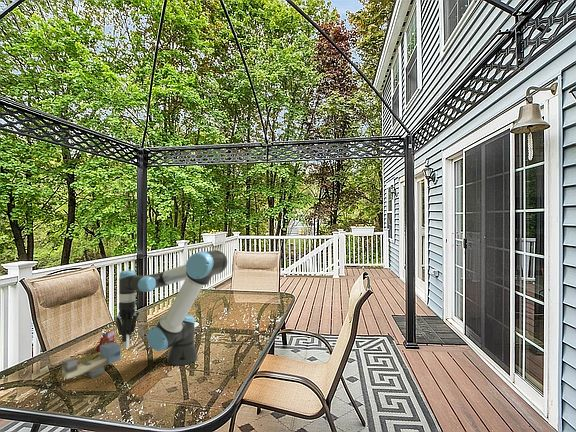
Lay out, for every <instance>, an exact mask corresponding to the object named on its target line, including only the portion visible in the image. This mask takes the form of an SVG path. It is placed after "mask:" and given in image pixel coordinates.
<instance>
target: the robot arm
mask: <svg viewBox="0 0 576 432" xmlns="http://www.w3.org/2000/svg"><path fill="white" fill-rule="evenodd" d="M227 267H228V257H227V256H226V254H225V253H224V252H222V251H220V250H216V249H215V250H208V251H197V252H194V253H193V254H191V255H190V256H189V257H188V259H187V260H186V263H185V264H183V265H179V266H177V267H173V268H171V269H168V270H167V269H166V270H165V271H164V270H163V271H161V272H157V273H152V274H147V275H136V271H135V270H122V271H120V272H119V275H118V276H119V278H118V283H119V284H118V286H119V287H118V301H119V302H118V310H119V311H118V315H117V316H114V317H113V320H114V321H115V324H116V325H115V326H116V329H117V332H118V335H119V336H122V337H121V341H122V342H123V343H122V344H123V345H122V347H123V348H124V349H129V348H130V341H131V336H132V334H133V333H134V332H135V330H136V325H137V322H138V317H139V315H140V313H139V312H137V311H136V310H135V308H136V301H135V300H136V291H137V292H143V293H146V292H152V291H153V290H155V289H157V288H162V287H167V286H169V285H172V284H175V283H179V282H182V281H184V282H183V284H182V285H181V287H180V289H179V290H178V292H177V294H176V296H175V298H174V300H173V302H172V304H171V305H170V307H169V309H168V310H167V312H166V314H165V315H163V316H161V317H160V318H159V321H158V322H157V324H156V325H155V326H152V327H151V328H150V329H148V331H147V335H146V338H147V339H146V340H147V343H148V345H149V347H150V348H151V349H152V350H154V351H156V352H162V351H165V350H167V349H169V351H168V354H167V356H166V358H167V359H166V361H167V363H168V365H172V366H185V365H190V364H193V363H195V362H196V361H197V360H198V352H197V349H196V345H195V317H194V316H193V315H191V314H188V313H189V312H190V309H191V308H192V306H193V305H194V303H195V301H196V299H197V297H198V295H199V294H200V293H201V291H202V289H203V286H207V285H208V284H209V283H210V281H211V279H212V278H213V276H216V275H218V274H221V273H222V272H224V271H225V270H226V268H227ZM192 362H193V363H192Z"/></svg>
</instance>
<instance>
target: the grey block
mask: <svg viewBox="0 0 576 432" xmlns="http://www.w3.org/2000/svg"><path fill="white" fill-rule="evenodd" d="M120 353H121V344H119V343H117V344H116V343H113V342H110V343H107V344H104V345H101V346H100V358H101V357H104V358H107V364H108V365H111V364H113V362H114V363H116V361H117V362H119V361H121V360H120ZM110 363H111V364H110Z"/></svg>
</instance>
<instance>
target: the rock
mask: <svg viewBox="0 0 576 432" xmlns="http://www.w3.org/2000/svg"><path fill="white" fill-rule="evenodd" d="M98 358H100V352H95V353H92V354H90V355H85V356H82V357H80V358H78V359H76V360H77V365H80V364H82V363H85V362H89V361H92V360H95V359H98Z"/></svg>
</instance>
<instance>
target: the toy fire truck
mask: <svg viewBox="0 0 576 432" xmlns="http://www.w3.org/2000/svg"><path fill="white" fill-rule="evenodd" d="M115 334H116V330H115V329H111V330H109V331H107V332H105V333H103V334H102V337H101V338H100V340H99V343H98V345H97V346H96V347H95V351H96V352H95V353H98V352H100V346H101V345H104V344H107V343H110V342H113V343H116V344H118V342H117V341H115Z"/></svg>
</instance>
